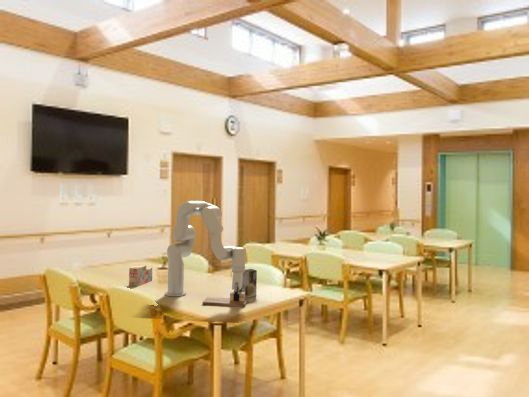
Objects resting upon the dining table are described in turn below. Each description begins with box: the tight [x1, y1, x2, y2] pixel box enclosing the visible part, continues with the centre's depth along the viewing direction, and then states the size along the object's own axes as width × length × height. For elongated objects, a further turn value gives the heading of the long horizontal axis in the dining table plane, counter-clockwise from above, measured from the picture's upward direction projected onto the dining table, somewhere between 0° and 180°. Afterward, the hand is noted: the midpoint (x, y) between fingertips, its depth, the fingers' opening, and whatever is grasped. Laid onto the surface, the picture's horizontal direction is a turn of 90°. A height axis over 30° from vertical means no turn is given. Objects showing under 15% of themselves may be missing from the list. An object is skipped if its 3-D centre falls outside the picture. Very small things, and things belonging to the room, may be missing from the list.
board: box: [201, 296, 249, 308], centre depth 268 cm, size 12×24×2 cm, turn 84°
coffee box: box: [242, 268, 258, 299], centre depth 288 cm, size 9×6×16 cm
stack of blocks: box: [128, 264, 153, 288], centre depth 318 cm, size 21×6×12 cm, turn 167°
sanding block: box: [229, 290, 246, 303], centre depth 267 cm, size 5×8×5 cm, turn 84°
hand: (237, 299), depth 267 cm, fingers open, 9 cm apart
